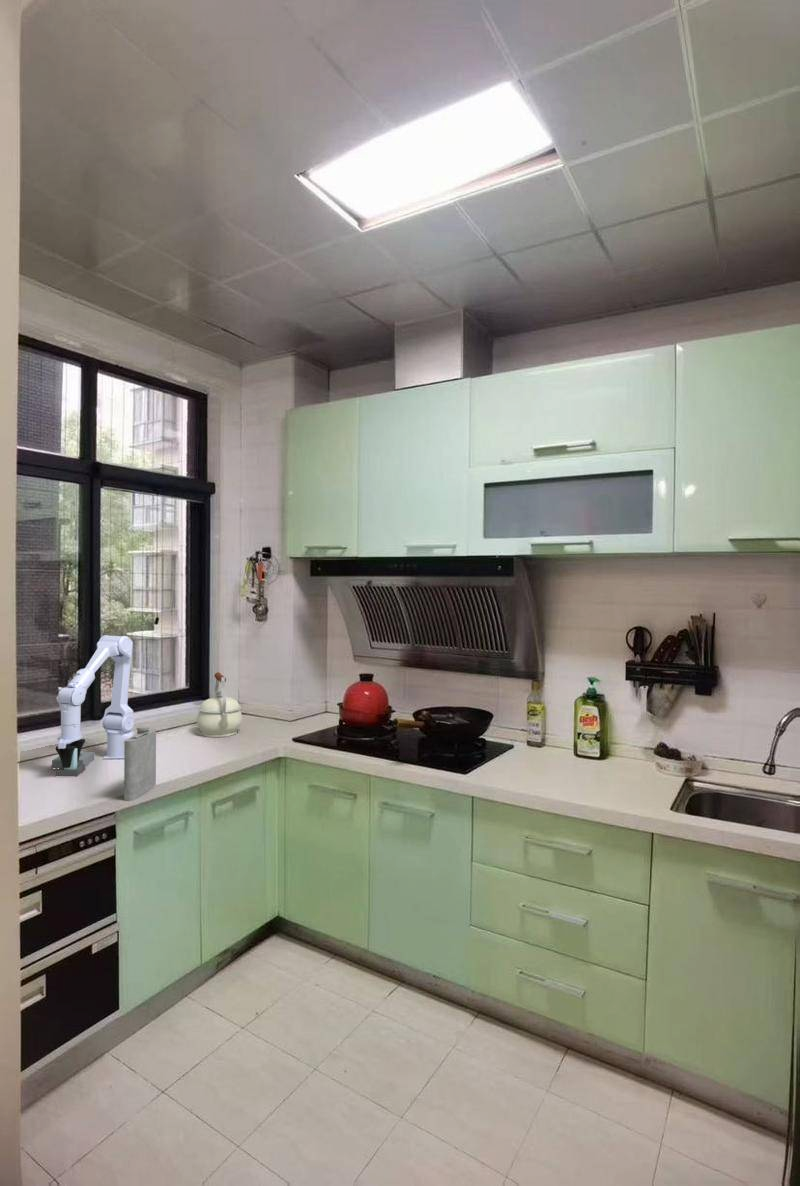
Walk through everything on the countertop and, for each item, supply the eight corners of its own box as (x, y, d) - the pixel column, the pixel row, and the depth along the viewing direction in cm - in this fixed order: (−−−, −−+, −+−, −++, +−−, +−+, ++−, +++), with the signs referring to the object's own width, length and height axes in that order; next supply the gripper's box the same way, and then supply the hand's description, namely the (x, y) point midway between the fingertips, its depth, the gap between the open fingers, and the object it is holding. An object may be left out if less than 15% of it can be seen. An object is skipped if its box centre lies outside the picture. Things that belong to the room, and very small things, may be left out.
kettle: (193, 729, 269) (194, 672, 268) (237, 726, 277) (237, 670, 276) (201, 743, 246) (202, 680, 246) (248, 739, 254) (249, 678, 253)
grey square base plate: (85, 770, 210) (85, 764, 210) (77, 776, 203) (77, 770, 203) (64, 770, 209) (64, 764, 209) (55, 776, 203) (55, 770, 203)
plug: (77, 772, 208) (77, 745, 208) (73, 774, 205) (73, 748, 205) (67, 772, 208) (67, 745, 208) (63, 775, 205) (64, 748, 205)
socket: (94, 760, 221) (94, 751, 221) (83, 768, 212) (83, 759, 211) (64, 760, 220) (64, 751, 220) (51, 769, 210) (51, 759, 210)
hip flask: (147, 783, 198) (148, 720, 197) (160, 783, 197) (160, 720, 197) (122, 800, 182) (122, 732, 181) (135, 801, 182) (135, 732, 181)
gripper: (67, 719, 213) (67, 758, 213) (48, 729, 198) (48, 771, 199) (89, 718, 214) (88, 758, 214) (71, 728, 199) (71, 771, 199)
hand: (70, 764), depth 206 cm, fingers open, 6 cm apart
